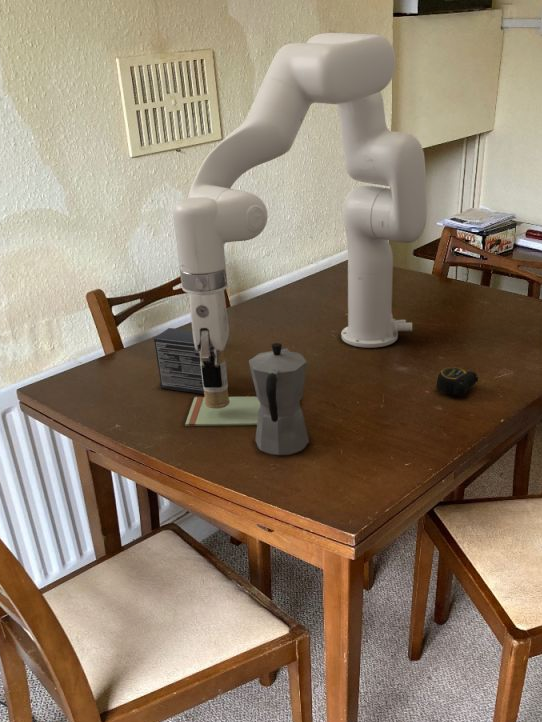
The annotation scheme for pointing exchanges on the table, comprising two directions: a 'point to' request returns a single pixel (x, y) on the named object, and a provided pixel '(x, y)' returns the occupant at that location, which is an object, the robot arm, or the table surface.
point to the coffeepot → (279, 400)
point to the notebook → (224, 412)
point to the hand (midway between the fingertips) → (214, 379)
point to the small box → (178, 361)
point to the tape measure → (455, 381)
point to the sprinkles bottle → (217, 396)
